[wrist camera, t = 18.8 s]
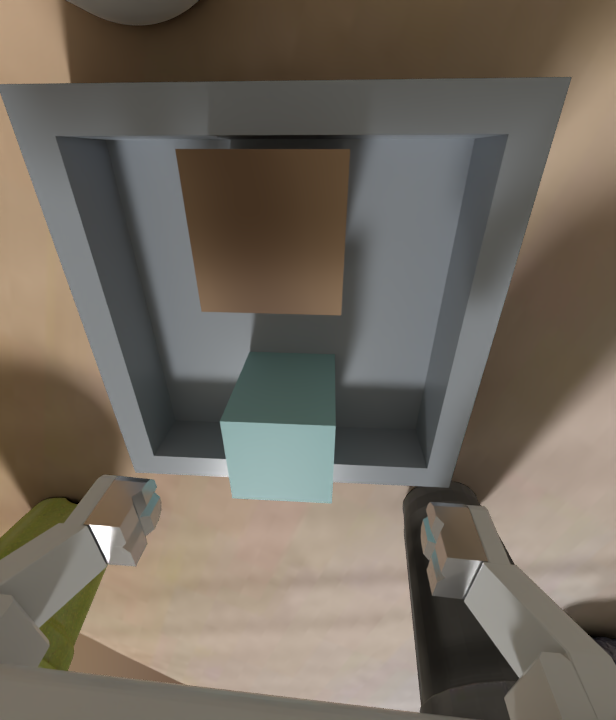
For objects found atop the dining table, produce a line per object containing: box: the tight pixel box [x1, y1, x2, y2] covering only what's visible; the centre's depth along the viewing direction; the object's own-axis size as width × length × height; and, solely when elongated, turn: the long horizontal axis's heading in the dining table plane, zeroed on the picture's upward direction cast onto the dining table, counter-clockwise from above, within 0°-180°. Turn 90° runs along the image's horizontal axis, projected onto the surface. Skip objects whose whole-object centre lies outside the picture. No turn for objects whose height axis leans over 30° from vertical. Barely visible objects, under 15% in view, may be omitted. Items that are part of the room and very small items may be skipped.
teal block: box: [220, 352, 336, 503], centre depth 15 cm, size 4×4×5 cm
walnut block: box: [175, 149, 350, 315], centre depth 11 cm, size 4×4×5 cm
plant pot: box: [0, 498, 108, 671], centre depth 21 cm, size 9×9×9 cm
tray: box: [0, 77, 572, 488], centre depth 14 cm, size 15×15×3 cm
